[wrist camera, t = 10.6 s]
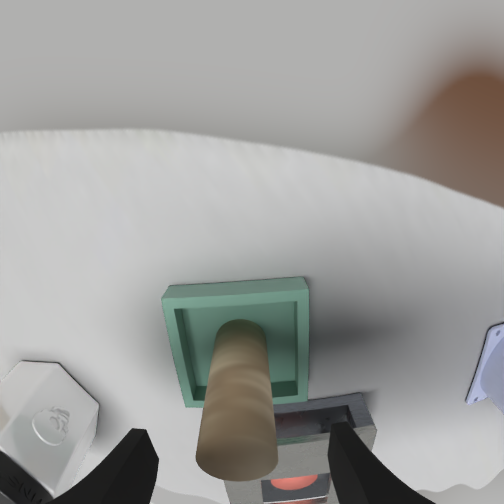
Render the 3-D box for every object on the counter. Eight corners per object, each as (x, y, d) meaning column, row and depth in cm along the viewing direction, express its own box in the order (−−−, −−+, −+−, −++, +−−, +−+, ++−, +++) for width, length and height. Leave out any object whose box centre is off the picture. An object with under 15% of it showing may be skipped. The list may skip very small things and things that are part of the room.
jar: (122, 420, 21) (72, 542, 9) (75, 443, 22) (29, 537, 10) (40, 338, 19) (-54, 438, 7) (6, 376, 20) (-64, 457, 9)
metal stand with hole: (360, 392, 20) (377, 430, 16) (341, 484, 23) (349, 515, 20) (219, 406, 20) (215, 448, 16) (238, 495, 23) (237, 527, 20)
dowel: (266, 318, 18) (280, 435, 9) (265, 361, 19) (276, 480, 10) (213, 318, 18) (190, 434, 9) (216, 361, 19) (200, 480, 10)
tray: (302, 276, 18) (308, 288, 16) (303, 383, 20) (307, 401, 18) (169, 285, 18) (161, 298, 16) (190, 389, 20) (185, 407, 18)
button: (316, 450, 20) (319, 463, 19) (313, 474, 21) (316, 486, 20) (269, 455, 20) (269, 469, 19) (270, 479, 21) (271, 491, 20)
